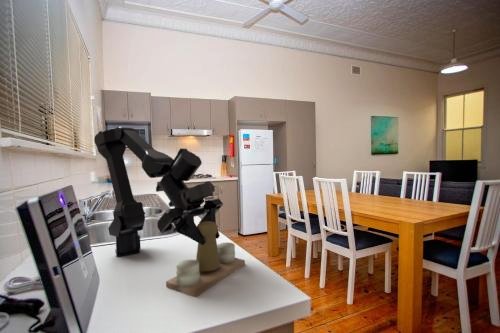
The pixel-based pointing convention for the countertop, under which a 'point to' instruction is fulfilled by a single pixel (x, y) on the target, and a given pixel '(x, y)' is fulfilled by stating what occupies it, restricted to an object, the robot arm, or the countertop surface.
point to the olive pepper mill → (208, 247)
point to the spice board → (204, 272)
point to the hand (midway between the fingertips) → (211, 240)
